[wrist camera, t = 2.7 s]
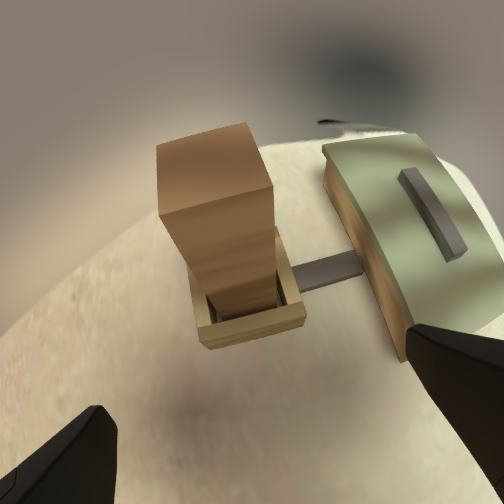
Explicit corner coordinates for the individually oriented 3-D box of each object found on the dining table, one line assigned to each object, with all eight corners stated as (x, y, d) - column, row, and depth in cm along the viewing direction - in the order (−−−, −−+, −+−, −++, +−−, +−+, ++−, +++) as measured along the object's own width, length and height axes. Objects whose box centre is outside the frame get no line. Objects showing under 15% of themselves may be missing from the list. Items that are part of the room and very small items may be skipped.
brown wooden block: (276, 312, 22) (273, 185, 10) (226, 325, 22) (158, 215, 9) (263, 267, 24) (246, 122, 12) (216, 279, 24) (156, 145, 11)
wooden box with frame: (487, 320, 19) (529, 293, 14) (227, 423, 18) (207, 432, 12) (403, 166, 28) (419, 124, 23) (186, 214, 27) (166, 169, 22)
